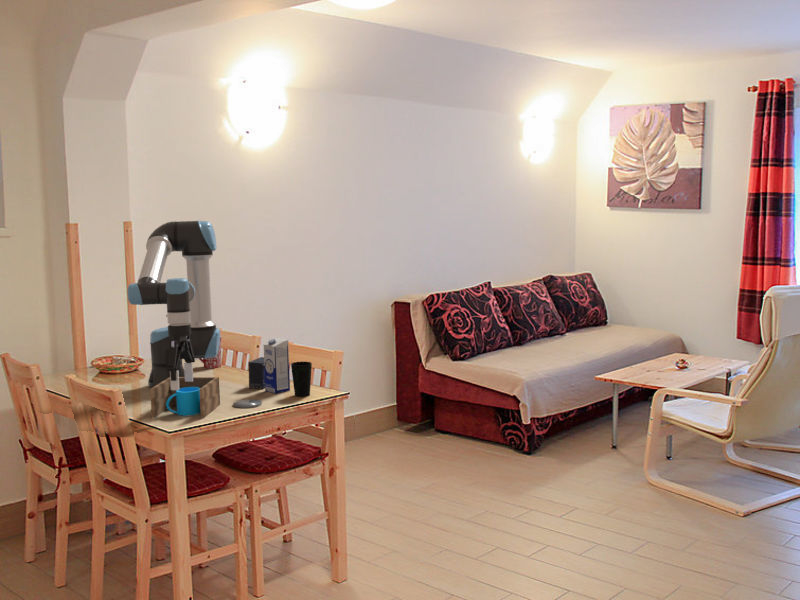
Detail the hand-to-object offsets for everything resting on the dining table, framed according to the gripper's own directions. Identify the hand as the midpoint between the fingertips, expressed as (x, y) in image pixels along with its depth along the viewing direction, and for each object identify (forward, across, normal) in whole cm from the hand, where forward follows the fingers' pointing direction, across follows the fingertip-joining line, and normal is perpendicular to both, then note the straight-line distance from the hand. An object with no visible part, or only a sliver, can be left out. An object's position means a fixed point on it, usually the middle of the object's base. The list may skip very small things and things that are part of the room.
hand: (182, 385), depth 275 cm
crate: (+10, -4, 0) cm, 10 cm away
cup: (+10, -26, +36) cm, 46 cm away
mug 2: (+9, -76, -16) cm, 79 cm away
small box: (+10, -42, +17) cm, 46 cm away
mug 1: (+10, 0, 0) cm, 10 cm away
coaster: (+10, -12, +19) cm, 25 cm away
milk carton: (+10, -34, +25) cm, 43 cm away
